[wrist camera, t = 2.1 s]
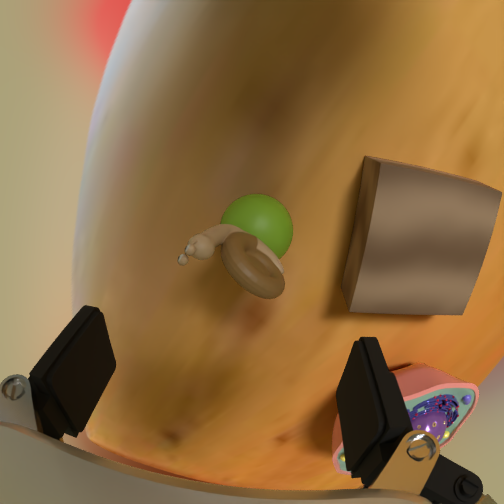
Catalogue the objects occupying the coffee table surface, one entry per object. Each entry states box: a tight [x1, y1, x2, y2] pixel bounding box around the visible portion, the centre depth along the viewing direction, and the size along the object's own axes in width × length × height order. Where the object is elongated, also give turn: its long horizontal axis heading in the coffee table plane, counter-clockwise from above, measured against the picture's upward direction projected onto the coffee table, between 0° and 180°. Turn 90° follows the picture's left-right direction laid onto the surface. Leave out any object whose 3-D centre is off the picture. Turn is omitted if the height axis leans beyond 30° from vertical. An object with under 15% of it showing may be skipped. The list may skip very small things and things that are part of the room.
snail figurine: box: [178, 194, 293, 299], centre depth 20 cm, size 5×6×12 cm
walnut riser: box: [341, 156, 502, 315], centre depth 23 cm, size 12×12×4 cm
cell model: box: [332, 363, 479, 475], centre depth 28 cm, size 17×20×11 cm
